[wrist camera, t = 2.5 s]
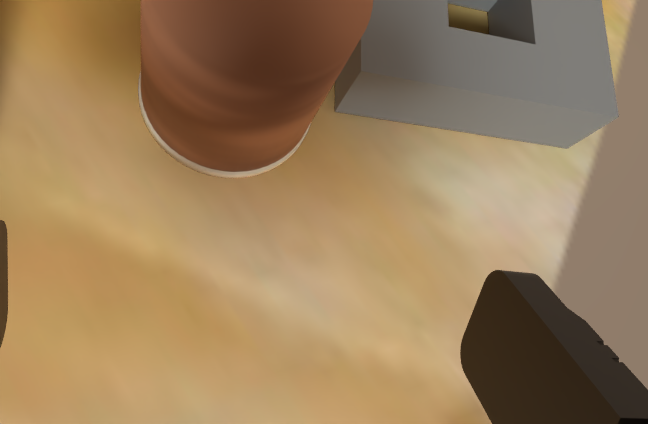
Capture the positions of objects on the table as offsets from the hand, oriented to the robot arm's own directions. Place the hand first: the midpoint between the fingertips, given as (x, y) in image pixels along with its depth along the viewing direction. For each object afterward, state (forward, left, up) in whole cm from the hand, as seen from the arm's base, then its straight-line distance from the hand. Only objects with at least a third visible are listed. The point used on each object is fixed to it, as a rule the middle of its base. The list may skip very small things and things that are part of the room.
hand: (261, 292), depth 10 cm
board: (+11, +16, -13) cm, 23 cm away
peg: (0, +9, -13) cm, 16 cm away
